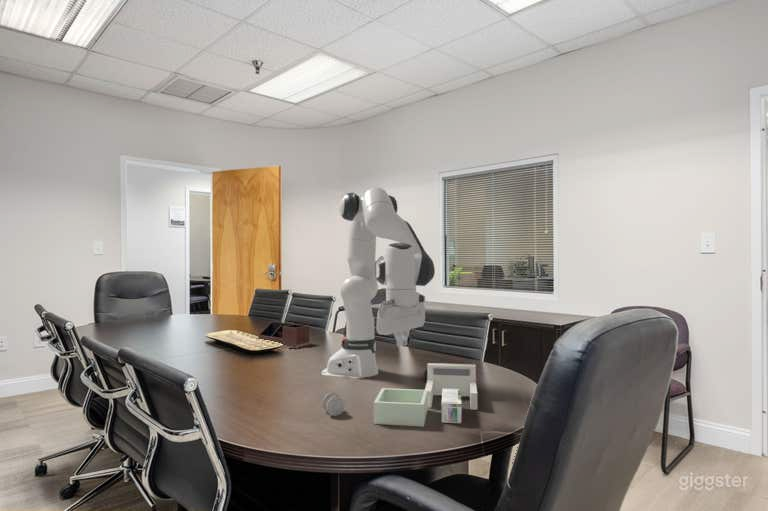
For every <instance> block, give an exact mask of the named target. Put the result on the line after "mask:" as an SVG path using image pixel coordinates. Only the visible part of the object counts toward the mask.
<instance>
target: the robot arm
mask: <svg viewBox="0 0 768 511" xmlns="http://www.w3.org/2000/svg"><path fill="white" fill-rule="evenodd" d="M339 212H340V215H341V217H342V219H344V220H346V221H350V223H349V228H348V235H347V236H348V238H347V259H346V260H347V263H348V267H349V274H350V277H348V278H347V279H346V280H344V282H343V283H342V285H341V286H340V290H339V292H340V296H341V299H342V302H343V309H344V313H345V319H346V320H345V325H346V326H345V328H346V329H345V330H346V332H345V333H346V335H345V337H344V338H342V340H341V341H340V345H341V348H340V349H338V350H337V351H336V352H335V353H334V354H332V355H331V356H330V357H329V359H328V361H327V366H326V368H324V369H323V370H322V371H321V375H322V376H327V377H335V378H345V379H351V380H358V379H364V378H369V377H374V376H376V375H378V374H379V370H378V365H377V360H376V351H377V350H376V349H377V342H376V337H375V328H376V332H377V334H378V335H381V336H382V335H384V336H389V335H393V336H394V338H395V340H396V346H397V347H399V348H402V347H405V346H407V345H408V338H409V336H410V332H411V331H410V330H412V329H417V328H419V327H420V328H421V327H423V326H424V324H425V322H426V305H425V303H426V296H425V295H424V294H421V293H420V292H418V291H417V286H419V287H425V286H427V285H428V284H429V283H430V282H431V281H433V279H434V277H435V274H436V273H435V272H436V270H435V269H436V268H435V264H434V261H433V259H432V258H431V257H430V256H429V254H428V253H427V252H426V250H425V249H424V247H423V245H422V243H421V241H420V239H419V238H418V236H417V234H416V233H415V231H414V229H413V227H412V225H411V224H410V223H409V222H408V221H407V220H405V219H403V218H402V217H401V216H400V215H399V214H398V201H397V200H396V197H395V196H392V195H389V194H388V192H387V191H386V190H385V189H384V188H382V187H371V188H369V189H367V190H366V191H365V192H358V193H355V192H348V193H345V194H343V195H342V196H341V200H340V202H339ZM377 237H378V238H381V239H386V240H392V241H394V243H390V244H388V245H387V246H386V252H385V254H383V255H381V256H380V257H379V258H377V260H376V255H377V254H376V250H377ZM378 283H380V284H381V285H383V286H385V298H386V299H385V300H384V301H381V303H380V305H379V308H378V311H377V316H376V326H375V317H374V314H373V310H372V309H373V308H372V303H371V302H372V301H371V300H373V299H374V298H375V297H376V295H377V293H378V291H379V290H378V289H379V284H378Z"/></svg>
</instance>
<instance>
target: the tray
mask: <svg viewBox="0 0 768 511" xmlns="http://www.w3.org/2000/svg"><path fill="white" fill-rule="evenodd" d="M427 414H428V407H427V390H425V389H414V388H413V389H412V388H411V389H410V388H389V387H388V388H385V387H383V388H381V389H380V391H379V392H378V394H377V396H376V397H375V400H374V401H373V424H375V425H389V426H390V425H391V426H404V427H405V426H409V427H425V422H426V418H427Z"/></svg>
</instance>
